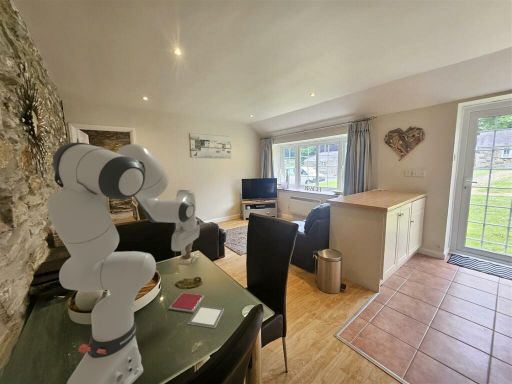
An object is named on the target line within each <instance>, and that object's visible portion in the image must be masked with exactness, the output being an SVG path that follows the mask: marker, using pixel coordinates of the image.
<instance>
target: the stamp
mask: <svg viewBox="0 0 512 384" xmlns="http://www.w3.org/2000/svg"><path fill="white" fill-rule="evenodd" d="M185 251H186V255H185V256H182V255H181V256H180V257H179V258H177V259H176V262H177V265H178V266H186V267H187V266H188V267H189V266H191V265H192V264H193V263H194V262H195V261H196V255H193V254H191V251H190V244H188V245H187V246H186V247H185Z"/></svg>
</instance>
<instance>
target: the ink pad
mask: <svg viewBox="0 0 512 384" xmlns="http://www.w3.org/2000/svg"><path fill="white" fill-rule="evenodd" d="M204 298H205V295H204V294H203V295H202V294H194V293H188V292H181V293H180V294H179V295H178V297H177V298H176V299H175V300H174V301H173V302H172V304H171V305H170V306H169V307H168V309H169V310H173V311H180V312H185V313H186V312H187V313H195V312H196V311H197V310H196V309H198V308H199V306H200V304H201V303H202V301H203V300H204Z"/></svg>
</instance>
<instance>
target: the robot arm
mask: <svg viewBox="0 0 512 384" xmlns="http://www.w3.org/2000/svg"><path fill="white" fill-rule="evenodd" d="M52 167H53V171H54V177H53V179H54V182H55V184H56V185H58V186H59V187H61V188H62V189H60V190H58V191H57V192H55V193H54V194H52V195H51V197H50V198H49V199H48V201H47V206H46V208H47V212H48V213H47V214H48V216H49V219H50V221H51V224H52V226H53V229H54V231H55V232H56V234H57V236H58V237H59V239H60V240H61V241H62V243H63V244H64V246H65V248H66V250H67V251H68V253H69V255H70V257H69V258H68V259H66V260H65V262H64V263H63V264H62V266H61V267H60V270H59V273H58V274H59V275H58V277H59V278H58V279H59V283H60V284H61V286H62V287H63V289H66V290H72V291H78V292H79V291H80V292H90V291H109V295H107V296H105V297H104V298H102V299H101V300H99V301H98V302H97V303H96V304H95V305H94V307H93V308H92V311H91V314H90V317H91V321H90V322H91V335H90V339H89V342H88V344H86V343H82V344H81V345H79V348H78V353H83V354H84V356H83V357H82V359H81V360H80V362H79V364H78V365H77V366H76V367H75V369H74V371H73V373H72V374H71V375H70V377H69V378H68V380H67V382H66V384H133V383H134V382H135V381H136V380H137V379H138V378H139V377H140V376H141V375H142V374H143V373H144V367H143V364H142V355H141V353H140V351H139V346H138V342H137V338H136V334H137V324H136V319H135V316H134V315H135V312H134V311H135V299H136V297H137V295H138V294H139V292H140V291H141V290H142V289H143V288H144V287H145V286H147V285H148V284H149V283H150V282H151V281H152V279H153V278H154V276H155V274H156V271H157V264H156V260H155V257H154V256H153V255H152V254H151V253H149V252H144V251H135V250H132V251H129V250H128V251H115V250H116V249H117V248H118V245H119V243H120V234H119V232H118V230H117V227H116V225H115V222H114V221H113V218H112V216H111V213H110V212H109V209H108V208H107V203H106V202H107V201H106V200H107V198H108V199H113V200H119V201H120V200H121V201H124V200H129V199H132V198H133V199H134V200H135V201H136V203H137V204H138V205H139V207H140V208H141V209H142V210H143V212H144V214H145V217H146V219H147V220H148V221H149V222H150V223H175V226H176V227H175V230H174V232H173V234H172V236H171V244H170V245H171V247H170V248H171V250H172V252H181V253H180V254H181V256H185V255H186V251H185V247H186V246H187V245H188V244H190V252H191V251H192V247H193V244H194V241H195V240H197V239H198V238H199V237H200V231H201V230H200V225H201V220H200V219H197V216H196V210H197V202H196V194H195V192H194V191H193V190H186V189H182V190H181V189H179V190H177V191H176V196H175V199H163V198H162V199H161V198H157V197H159V196H161V195H162V194H163V193H164V192H165V191H166V189H167V187H168V185H169V176H168V173H167V172H166V170H165V168H163V167H164V166H163V165H162V164H161V163H160V162H159V160H158V159H157V157H155V156H154V155H153V154H152V153H151V152H150V151H149V150H148V149H147V148H146V147H144V146H142V145H140V144H137V143H134V144H133V143H131V144H126V145H124V146H121V147H120V148H119V149H118V150H117V151H116V152H115V151H112V150H111V149H107V148H104V147H101V146H98V145H97V146H96V145H92V144H91V143H86V142H68V143H66V144H62V145H61V146H60V147H58V148H57V149H56V151H55V152H54V155H53V159H52Z"/></svg>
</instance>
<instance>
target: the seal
mask: <svg viewBox="0 0 512 384" xmlns="http://www.w3.org/2000/svg"><path fill="white" fill-rule="evenodd" d="M175 285H176V286H177V288H179V289H184V290H188V289H194V288H198V287H200V286H201V285H203V281H202V277H201V276H195V277H194V278H183V279H181V280H178V281H176V282H175Z"/></svg>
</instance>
